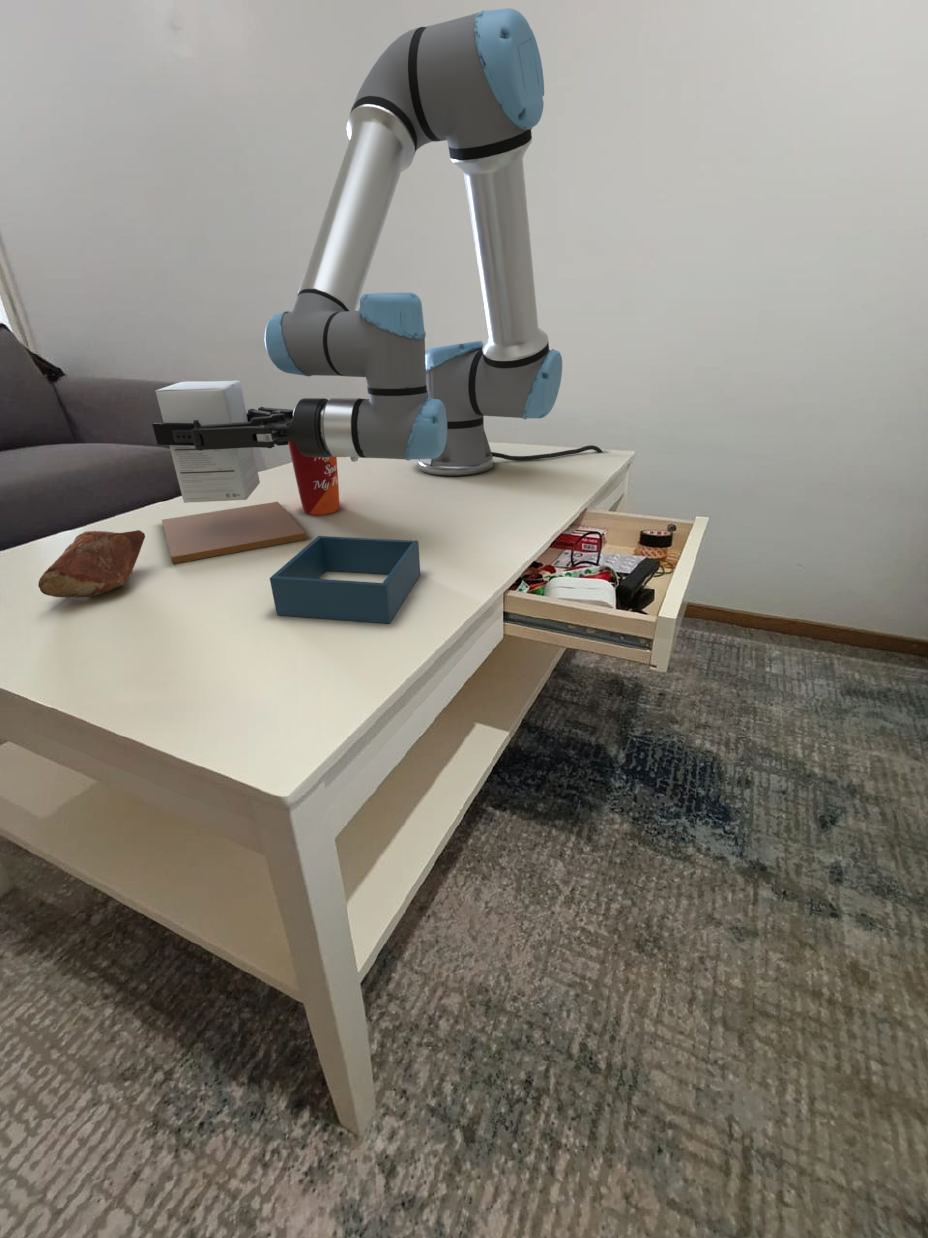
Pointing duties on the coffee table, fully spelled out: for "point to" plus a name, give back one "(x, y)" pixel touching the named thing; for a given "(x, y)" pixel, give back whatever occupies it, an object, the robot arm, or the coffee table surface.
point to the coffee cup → (316, 482)
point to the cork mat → (229, 531)
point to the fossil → (93, 564)
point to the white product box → (214, 468)
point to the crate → (347, 599)
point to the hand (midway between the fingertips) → (182, 425)
